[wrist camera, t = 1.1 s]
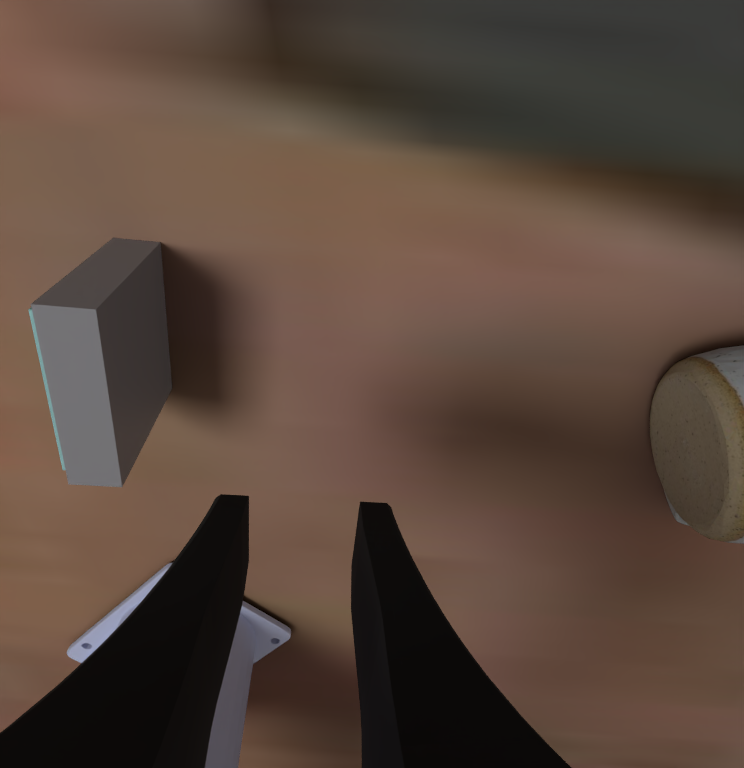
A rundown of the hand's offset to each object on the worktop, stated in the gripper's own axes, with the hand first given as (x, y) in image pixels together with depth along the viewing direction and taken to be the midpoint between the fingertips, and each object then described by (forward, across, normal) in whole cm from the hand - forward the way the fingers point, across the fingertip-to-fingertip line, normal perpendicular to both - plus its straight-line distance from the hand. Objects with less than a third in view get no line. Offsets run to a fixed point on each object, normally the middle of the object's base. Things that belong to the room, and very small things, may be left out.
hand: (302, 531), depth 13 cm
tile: (+10, +6, 0) cm, 12 cm away
